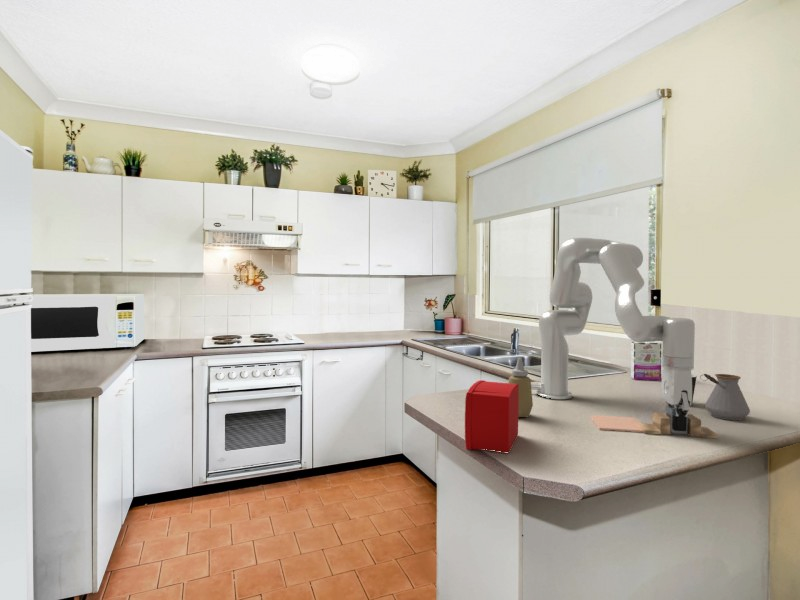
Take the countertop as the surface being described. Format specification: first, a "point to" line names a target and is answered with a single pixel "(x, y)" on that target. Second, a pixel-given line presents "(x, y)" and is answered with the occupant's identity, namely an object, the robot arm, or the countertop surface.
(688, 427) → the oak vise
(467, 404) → the red rounded box
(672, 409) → the metal block
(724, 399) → the coffee pot
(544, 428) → the countertop surface
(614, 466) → the countertop surface
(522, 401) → the squeeze bottle
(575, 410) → the countertop surface
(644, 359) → the candy bar box
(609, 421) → the terracotta tile
